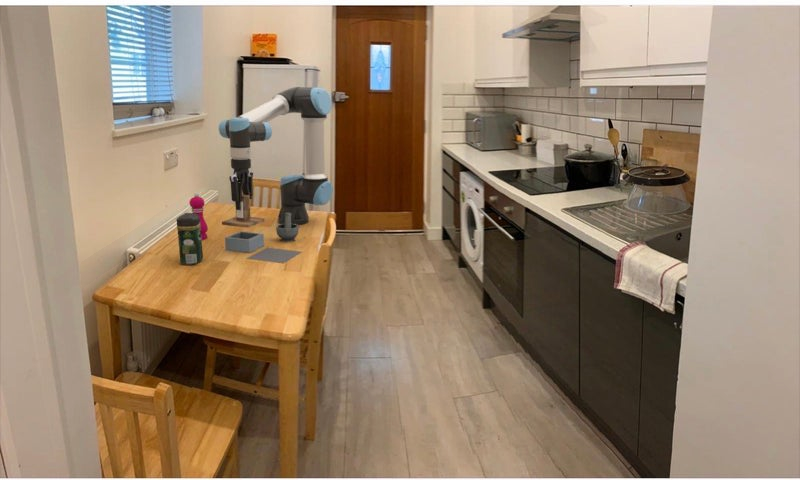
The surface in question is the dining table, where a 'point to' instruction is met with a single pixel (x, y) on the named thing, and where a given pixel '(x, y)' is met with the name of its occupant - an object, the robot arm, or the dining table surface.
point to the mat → (274, 255)
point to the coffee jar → (189, 239)
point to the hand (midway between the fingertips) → (243, 216)
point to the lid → (247, 220)
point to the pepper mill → (199, 213)
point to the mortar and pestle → (287, 229)
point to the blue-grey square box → (244, 241)
